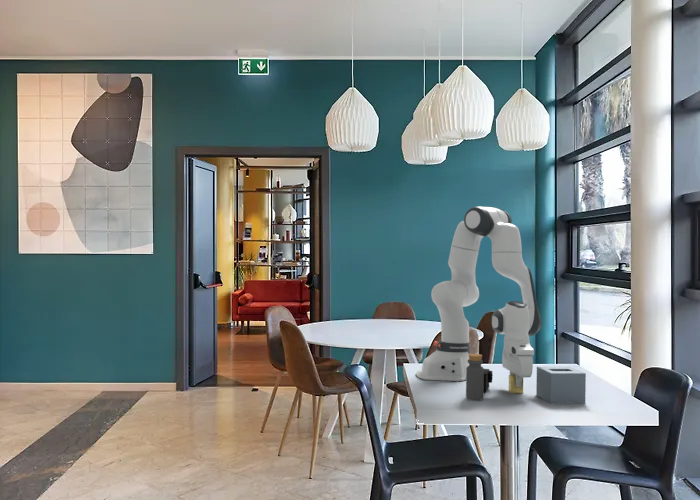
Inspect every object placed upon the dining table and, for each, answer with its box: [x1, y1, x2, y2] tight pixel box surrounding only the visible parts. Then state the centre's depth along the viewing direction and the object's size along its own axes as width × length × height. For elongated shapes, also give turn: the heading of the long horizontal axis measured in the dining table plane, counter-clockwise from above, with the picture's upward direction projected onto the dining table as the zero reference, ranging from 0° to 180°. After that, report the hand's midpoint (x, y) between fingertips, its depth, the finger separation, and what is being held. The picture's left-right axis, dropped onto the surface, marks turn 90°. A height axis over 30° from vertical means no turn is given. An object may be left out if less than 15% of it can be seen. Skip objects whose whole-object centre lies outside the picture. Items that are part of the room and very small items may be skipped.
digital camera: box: [483, 368, 494, 394], centre depth 214 cm, size 10×5×7 cm, turn 160°
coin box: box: [536, 366, 587, 404], centre depth 202 cm, size 12×12×10 cm
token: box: [508, 374, 524, 394], centre depth 211 cm, size 4×2×6 cm, turn 95°
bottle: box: [465, 353, 485, 402], centre depth 200 cm, size 6×6×15 cm
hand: (515, 385), depth 211 cm, fingers closed on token, 2 cm apart
